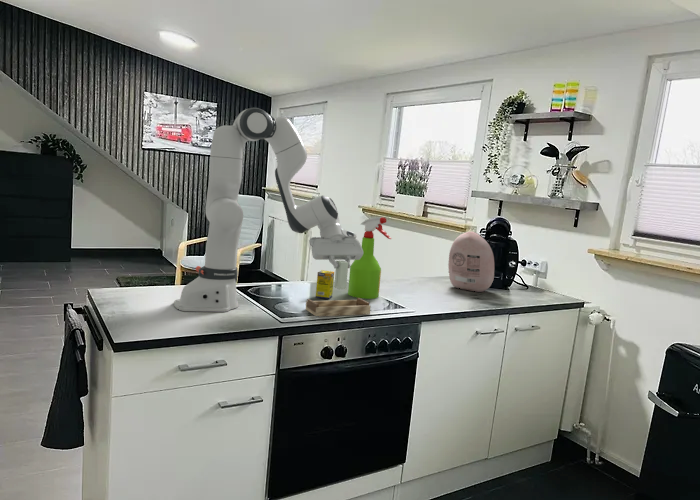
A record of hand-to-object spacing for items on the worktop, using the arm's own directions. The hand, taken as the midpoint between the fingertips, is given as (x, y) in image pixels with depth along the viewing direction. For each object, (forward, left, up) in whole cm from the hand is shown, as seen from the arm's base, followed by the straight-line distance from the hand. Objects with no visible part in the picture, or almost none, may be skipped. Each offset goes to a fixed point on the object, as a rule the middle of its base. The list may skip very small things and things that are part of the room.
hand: (342, 267), depth 192 cm
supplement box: (+5, +24, -17) cm, 30 cm away
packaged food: (+89, +31, -17) cm, 96 cm away
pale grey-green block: (0, +1, -8) cm, 8 cm away
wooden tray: (0, +1, -17) cm, 17 cm away
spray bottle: (+26, +24, -17) cm, 39 cm away
